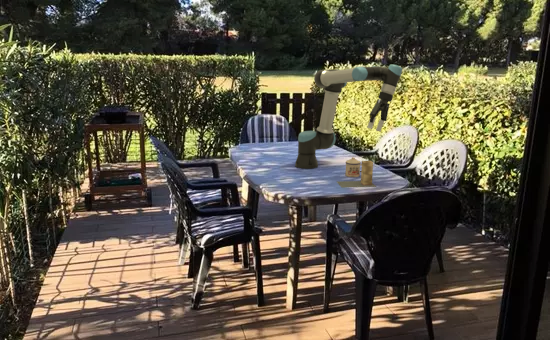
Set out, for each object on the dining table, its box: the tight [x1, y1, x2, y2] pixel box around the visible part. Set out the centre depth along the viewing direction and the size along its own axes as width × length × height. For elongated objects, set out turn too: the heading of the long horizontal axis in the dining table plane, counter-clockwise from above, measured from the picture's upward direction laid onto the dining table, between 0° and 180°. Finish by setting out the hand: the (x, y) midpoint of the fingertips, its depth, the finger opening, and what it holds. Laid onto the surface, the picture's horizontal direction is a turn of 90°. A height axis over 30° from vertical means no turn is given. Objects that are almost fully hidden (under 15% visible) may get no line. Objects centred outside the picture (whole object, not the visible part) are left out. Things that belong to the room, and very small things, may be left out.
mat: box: [336, 180, 377, 189], centre depth 251 cm, size 20×13×1 cm, turn 96°
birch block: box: [360, 160, 374, 185], centre depth 250 cm, size 5×5×13 cm
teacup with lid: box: [345, 156, 362, 178], centre depth 270 cm, size 12×9×12 cm
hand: (373, 129), depth 246 cm, fingers open, 13 cm apart
